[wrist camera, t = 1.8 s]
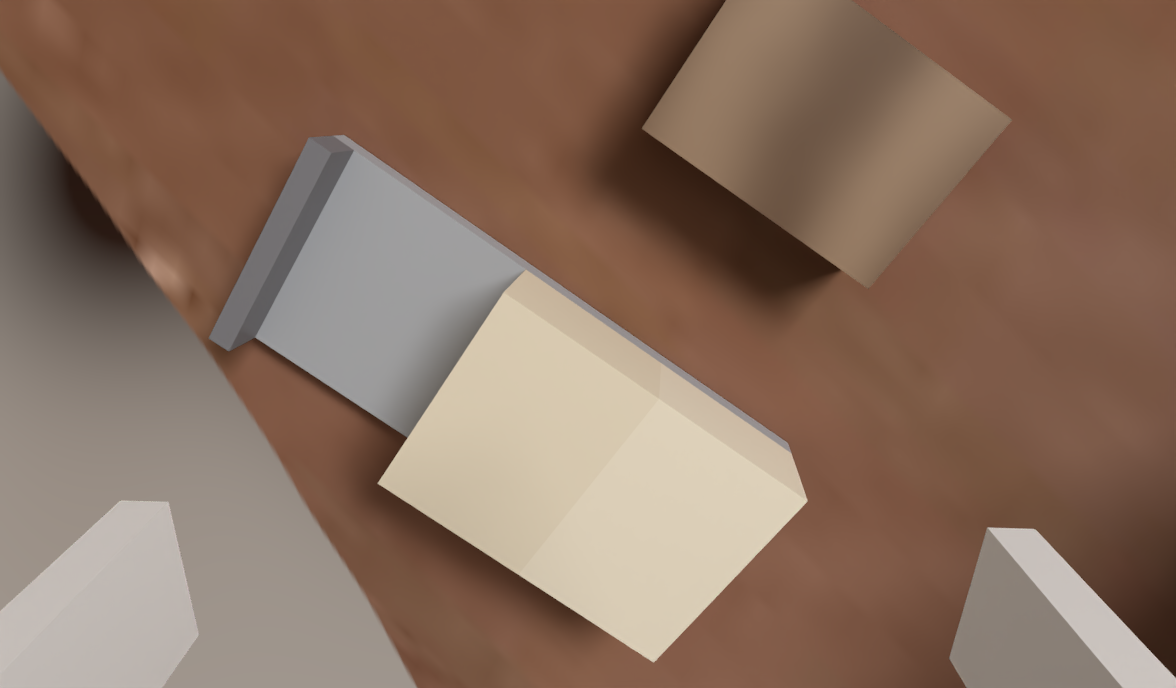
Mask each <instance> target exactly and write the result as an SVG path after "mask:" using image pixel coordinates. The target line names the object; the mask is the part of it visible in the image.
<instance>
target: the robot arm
mask: <svg viewBox="0 0 1176 688" xmlns="http://www.w3.org/2000/svg"><path fill="white" fill-rule="evenodd" d="M198 636H199V633H198V628H197V624H196V620H195V615H194V611H193V606H192V602H191V598H190V593H189V589H188V585H187V580H186V576H185V572H184V567H183V563H182V559H181V555H180V550H179V546H178V542H177V537H176V533H175V528H174V524H173V520H172V516H171V511H170V507H169V502H154V501H153V502H152V501H123V500H120V501H119V502H118V503H117V504H116V505H115V506H114V507H113V508H112V509H111V510H110V511H109V512H107V513H106V514H105V515H104V516H103V517H102V518H101V519H100V520H99V521H98V522H97V523H96V524H94V525H93V526H92V527H91V528H90V529H89V530H88V531H87V532H86V533H85V534H83V535H82V536H81V537H80V538H79V539H78V540H77V541H76V542H75V543H74V544H73V545H71V546H70V547H69V548H68V549H67V550H66V551H65V552H64V553H63V554H62V555H61V556H60V557H59V558H57V559H56V560H55V561H54V562H53V563H52V564H51V565H50V566H49V567H48V568H46V569H45V570H44V571H43V572H42V573H41V574H40V575H39V576H38V577H37V578H36V579H34V580H33V581H32V582H31V583H30V584H29V585H28V586H27V587H26V588H25V589H24V590H22V591H21V592H20V594H18V595H17V596H16V597H15V598H14V599H13V600H12V601H11V602H10V603H8V604H7V605H6V606H5V607H4V608H3V609H2V610H1V611H0V688H162V687H163V686H164V685H165V683H166V682H167V680H168V679H169V677H170V676H171V675H172V673H173V672H174V670H175V669H176V667H177V666H178V664H179V663H180V661H181V660H182V659H183V657H184V656H185V654H186V653H187V652H188V650H189V649H190V647H191V646H192V644H193V643H194V641H195V640H196V639H197V637H198ZM949 659H950V661H951V662H952V664H953V666H954V667H955V669H956V671H957V672H958V674H959V676H960V677H961V679H962V681H963V682H964V684H965V686H966V688H1176V678H1175V677H1174V676H1173V675H1172V674H1171V673H1170V672H1169V670H1168V669H1167V668H1166V667H1165V666H1164V665H1163V664H1162V663H1161V662H1160V661H1159V660H1158V659H1157V658H1156V657H1155V656H1154V655H1153V654H1152V652H1151V651H1150V650H1149V649H1148V648H1147V647H1146V646H1145V645H1144V644H1143V643H1142V642H1141V641H1140V640H1139V639H1138V638H1137V637H1136V636H1135V634H1134V633H1133V632H1132V631H1131V630H1130V629H1129V628H1128V627H1127V626H1126V625H1125V624H1124V623H1123V622H1122V621H1121V620H1120V619H1119V617H1118V616H1117V615H1116V614H1115V613H1114V612H1113V611H1112V610H1111V609H1110V608H1109V607H1108V606H1107V605H1106V604H1105V603H1104V602H1103V601H1102V599H1101V598H1100V597H1099V596H1098V595H1097V594H1096V593H1095V592H1094V591H1093V590H1092V589H1091V588H1090V587H1089V586H1088V585H1087V584H1086V583H1085V581H1084V580H1083V579H1082V578H1081V577H1080V576H1079V575H1078V574H1077V573H1076V572H1075V571H1074V570H1073V569H1072V568H1071V567H1070V566H1069V564H1068V563H1067V562H1066V561H1065V560H1064V559H1063V558H1062V557H1061V556H1060V555H1059V554H1058V553H1057V552H1056V551H1055V550H1054V549H1053V548H1052V546H1051V545H1050V544H1049V543H1048V542H1047V541H1046V540H1045V539H1044V538H1043V537H1042V536H1041V535H1040V534H1039V533H1038V532H1037V531H1036V530H1035V529H1016V528H987V531H986V534H985V537H984V541H983V544H982V548H981V551H980V555H979V558H978V561H977V565H976V568H975V572H974V575H973V578H972V582H971V585H970V589H969V592H968V596H967V599H966V602H965V606H964V609H963V613H962V616H961V619H960V623H959V626H958V630H957V633H956V637H955V640H954V643H953V647H952V650H951V654H950V657H949Z"/></svg>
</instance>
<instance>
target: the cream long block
mask: <svg viewBox="0 0 1176 688" xmlns="http://www.w3.org/2000/svg"><path fill="white" fill-rule="evenodd" d="M253 338H257V339H258V340H260V341H261V342H263V343H264V344H266V345H267V346H269V347H270V348H272V349H273V350H275V351H277V352H278V353H280V354H281V355H283V356H284V357H286V358H287V359H289V360H290V361H292V362H293V363H295V364H296V365H298V366H299V367H301V368H302V369H304V370H305V371H307V372H308V373H310V374H311V375H313V376H315V377H316V378H318V379H319V380H321V381H322V382H324V383H325V384H327V385H328V386H330V387H331V388H333V389H334V390H336V391H337V392H339V393H340V394H342V395H343V396H345V397H346V398H348V399H349V400H351V401H353V402H354V403H356V404H357V405H359V406H360V407H362V408H363V409H365V410H366V411H368V412H369V413H371V414H372V415H374V416H375V417H377V418H378V419H380V420H381V421H383V422H384V423H386V424H388V425H389V426H391V427H392V428H394V429H395V430H397V431H398V432H400V433H401V434H403V435H404V436H406V437H407V440H406V441H405V443H404V444H403V446H402V447H401V449H400V450H399V452H398V453H397V455H396V456H395V458H394V459H393V461H392V462H391V464H390V465H389V467H388V468H387V470H386V471H385V473H384V474H383V476H382V477H381V479H380V481H379V482H378V484H379V485H381V486H382V487H384V488H385V489H387V490H388V491H390V492H392V493H393V494H395V495H396V496H398V497H399V498H401V499H402V500H404V501H405V502H407V503H408V504H410V505H412V506H413V507H415V508H416V509H418V510H419V511H421V512H422V513H424V514H425V515H427V516H429V517H430V518H432V519H433V520H435V521H436V522H438V523H439V524H441V525H442V526H444V527H445V528H447V529H449V530H450V531H452V532H453V533H455V534H456V535H458V536H459V537H461V538H462V539H464V540H466V541H467V542H469V543H470V544H472V545H473V546H475V547H476V548H478V549H479V550H481V551H483V552H484V553H486V554H487V555H489V556H490V557H492V558H493V559H495V560H496V561H498V562H499V563H501V564H503V565H504V566H506V567H507V568H509V569H510V570H512V571H513V572H515V573H516V574H518V575H520V576H521V577H523V578H524V579H526V580H527V581H529V582H530V583H532V584H533V585H535V586H536V587H538V588H540V589H541V590H543V591H544V592H546V593H547V594H549V595H550V596H552V597H553V598H555V599H557V600H558V601H560V602H561V603H563V604H564V605H566V606H567V607H569V608H570V609H572V610H573V611H575V612H577V613H578V614H580V615H581V616H583V617H584V618H586V619H587V620H589V621H590V622H592V623H594V624H595V625H597V626H598V627H600V628H601V629H603V630H604V631H606V632H607V633H609V634H611V635H612V636H614V637H615V638H617V639H618V640H620V641H621V642H623V643H624V644H626V645H627V646H629V647H631V648H632V649H634V650H635V651H637V652H638V653H640V654H641V655H643V656H644V657H646V658H648V659H649V660H651V661H652V662H655V661H656V660H657V659H658V658H659V656H660V655H661V654H662V653H663V652H664V651H665V650H666V649H667V648H668V647H669V646H670V645H671V644H672V643H673V642H674V641H675V640H676V639H677V638H678V637H679V636H680V634H681V633H682V632H683V631H684V630H685V629H686V628H687V627H688V626H689V625H690V624H691V623H692V622H693V621H694V620H695V619H696V618H697V617H698V616H699V615H700V613H701V612H702V611H703V610H704V609H705V608H706V607H707V606H708V605H709V604H710V603H711V602H712V601H713V600H714V599H715V598H716V597H717V596H718V595H719V594H720V593H721V591H722V590H723V589H724V588H725V587H726V586H727V585H728V584H729V583H730V582H731V581H732V580H733V579H734V578H735V577H736V576H737V575H738V574H739V573H740V572H741V571H742V569H743V568H744V567H745V566H746V565H747V564H748V563H749V562H750V561H751V560H752V559H753V558H754V557H755V556H756V555H757V554H758V553H759V552H760V551H761V550H762V548H763V547H764V546H765V545H766V544H767V543H768V542H769V541H770V540H771V539H772V538H773V537H774V536H775V535H776V534H777V533H778V532H779V531H780V530H781V529H782V528H783V526H784V525H785V524H786V523H787V522H788V521H789V520H790V519H791V518H792V517H793V516H794V515H795V514H796V513H797V512H798V511H799V510H800V509H801V508H802V507H803V505H804V504H805V503H806V502H807V498H806V495H805V492H804V489H803V486H802V483H801V480H800V477H799V474H798V471H797V469H796V466H795V463H794V460H793V457H792V454H791V451H790V448H789V445H788V443H787V442H786V441H784V440H783V439H781V438H780V437H778V436H777V435H775V434H774V433H773V432H771V431H770V430H768V429H767V428H765V427H764V426H762V425H761V424H760V423H758V422H757V421H755V420H754V419H752V418H751V417H749V416H748V415H747V414H745V413H744V412H742V411H741V410H739V409H738V408H737V407H735V406H734V405H732V404H731V403H729V402H728V401H726V400H725V399H724V398H722V397H721V396H719V395H718V394H716V393H715V392H713V391H712V390H711V389H709V388H708V387H706V386H705V385H703V384H702V383H701V382H699V381H698V380H696V379H695V378H693V377H692V376H690V375H689V374H688V373H686V372H685V371H683V370H682V369H680V368H679V367H677V366H676V365H675V364H673V363H672V362H670V361H669V360H667V359H666V358H665V357H663V356H662V355H660V354H659V353H657V352H656V351H654V350H653V349H652V348H650V347H649V346H647V345H646V344H644V343H643V342H641V341H640V340H639V339H637V338H636V337H634V336H633V335H631V334H630V333H628V332H627V331H626V330H624V329H623V328H621V327H620V326H618V325H617V324H616V323H614V322H613V321H611V320H610V319H608V318H607V317H605V316H604V315H603V314H601V313H600V312H598V311H597V310H595V309H594V308H592V307H591V306H590V305H588V304H587V303H585V302H584V301H582V300H581V299H580V298H578V297H577V296H575V295H574V294H572V293H571V292H569V291H568V290H567V289H565V288H564V287H562V286H561V285H559V284H558V283H556V282H555V281H554V280H552V279H551V278H549V277H548V276H546V275H545V274H544V273H542V272H541V271H539V270H538V269H536V268H535V267H533V266H532V265H531V264H529V263H528V262H526V261H525V260H523V259H522V258H520V257H519V256H518V255H516V254H515V253H513V252H512V251H510V250H509V249H507V248H506V247H505V246H503V245H502V244H500V243H499V242H497V241H496V240H495V239H493V238H492V237H490V236H489V235H487V234H486V233H484V232H483V231H482V230H480V229H479V228H477V227H476V226H474V225H473V224H471V223H470V222H469V221H467V220H466V219H464V218H463V217H461V216H460V215H459V214H457V213H456V212H454V211H453V210H451V209H450V208H448V207H447V206H446V205H444V204H443V203H441V202H440V201H438V200H437V199H435V198H434V197H433V196H431V195H430V194H428V193H427V192H425V191H424V190H422V189H421V188H420V187H418V186H417V185H415V184H414V183H412V182H411V181H410V180H408V179H407V178H405V177H404V176H402V175H401V174H399V173H398V172H397V171H395V170H394V169H392V168H391V167H389V166H388V165H386V164H385V163H384V162H382V161H381V160H379V159H378V158H376V157H375V156H374V155H372V154H371V153H369V152H368V151H366V150H365V149H363V148H362V147H361V146H359V145H358V144H356V143H355V142H353V141H352V140H350V139H349V138H348V137H346V136H345V135H340V136H324V137H309V139H308V141H307V143H306V145H305V147H304V149H303V151H302V153H301V155H300V157H299V159H298V161H297V163H296V165H295V167H294V169H293V171H292V173H291V175H290V177H289V179H288V181H287V183H286V185H285V187H284V189H283V191H282V193H281V195H280V197H279V199H278V201H277V203H276V205H275V207H274V209H273V211H272V213H271V215H270V217H269V219H268V221H267V223H266V225H265V227H264V229H263V231H262V233H261V235H260V237H259V239H258V241H257V243H256V245H255V247H254V249H253V251H252V253H251V255H250V257H249V259H248V261H247V263H246V265H245V267H244V269H243V271H242V273H241V275H240V277H239V279H238V281H237V283H236V285H235V287H234V289H233V291H232V293H231V295H230V297H229V298H228V300H227V302H226V304H225V306H224V308H223V310H222V312H221V314H220V316H219V318H218V320H217V322H216V324H215V326H214V328H213V330H212V332H211V334H210V336H209V339H210V340H212V341H213V342H215V343H216V344H218V345H219V346H221V347H223V348H224V349H226V350H227V351H231V350H233V349H234V348H236V347H238V346H240V345H242V344H244V343H246V342H248V341H250V340H251V339H253Z"/></svg>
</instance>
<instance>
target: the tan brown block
mask: <svg viewBox="0 0 1176 688" xmlns="http://www.w3.org/2000/svg"><path fill="white" fill-rule="evenodd" d="M1011 121H1012V119H1010V118H1009V117H1008V116H1006V115H1005V114H1004V113H1002V112H1001V111H1000V110H998V109H997V108H996V107H994V106H993V105H992V104H990V103H989V102H988V101H986V100H985V99H983V98H982V97H981V96H979V95H978V94H977V93H975V92H974V91H973V90H971V89H970V88H969V87H967V86H966V85H965V84H963V83H962V82H961V81H959V80H958V79H957V78H955V77H954V76H953V75H951V74H950V73H949V72H947V71H946V70H945V69H943V68H942V67H941V66H939V65H938V64H937V63H935V62H934V61H932V60H931V59H930V58H928V57H927V56H926V55H924V54H923V53H922V52H920V51H919V50H918V49H916V48H915V47H914V46H912V45H911V44H910V43H908V42H907V41H906V40H904V39H903V38H902V37H900V36H899V35H898V34H896V33H895V32H894V31H892V30H891V29H890V28H888V27H887V26H886V25H884V24H883V23H882V22H880V21H879V20H877V19H876V18H875V17H873V16H872V15H871V14H869V13H868V12H867V11H865V10H864V9H863V8H861V7H860V6H859V5H857V4H856V3H855V2H853V1H852V0H726V1H725V3H724V4H723V6H722V7H721V9H720V10H719V12H718V13H717V15H716V16H715V18H714V19H713V21H712V22H711V24H710V25H709V27H708V28H707V30H706V31H705V33H704V35H703V36H702V38H701V39H700V41H699V42H698V44H697V45H696V47H695V48H694V50H693V51H692V53H691V54H690V56H689V57H688V59H687V60H686V62H685V63H684V65H683V66H682V68H681V69H680V71H679V72H678V74H677V75H676V77H675V79H674V80H673V82H672V83H671V85H670V86H669V88H668V89H667V91H666V92H665V94H664V95H663V97H662V98H661V100H660V101H659V103H658V104H657V106H656V107H655V109H654V110H653V112H652V113H651V115H650V116H649V118H648V119H647V121H646V123H645V124H644V126H643V127H642V129H643V130H644V131H646V132H647V133H648V134H650V135H651V136H653V137H654V138H655V139H657V140H658V141H660V142H661V143H663V144H664V145H665V146H667V147H668V148H670V149H671V150H672V151H674V152H675V153H677V154H678V155H680V156H681V157H682V158H684V159H685V160H687V161H688V162H689V163H691V164H692V165H694V166H695V167H696V168H698V169H699V170H701V171H702V172H704V173H705V174H706V175H708V176H709V177H711V178H712V179H713V180H715V181H716V182H718V183H719V184H721V185H722V186H723V187H725V188H726V189H728V190H729V191H730V192H732V193H733V194H735V195H736V196H738V197H739V198H740V199H742V200H743V201H745V202H746V203H747V204H749V205H750V206H752V207H753V208H754V209H756V210H757V211H759V212H760V213H762V214H763V215H764V216H766V217H767V218H769V219H770V220H771V221H773V222H774V223H776V224H777V225H779V226H780V227H781V228H783V229H784V230H786V231H787V232H788V233H790V234H791V235H793V236H794V237H796V238H797V239H798V240H800V241H801V242H803V243H804V244H805V245H807V246H808V247H810V248H811V249H812V250H814V251H815V252H817V253H818V254H820V255H821V256H822V257H824V258H825V259H827V260H828V261H829V262H831V263H832V264H834V265H835V266H837V267H838V268H839V269H841V270H842V271H844V272H845V273H846V274H848V275H849V276H851V277H852V278H854V279H855V280H856V281H858V282H859V283H861V284H862V285H863V286H865V287H866V288H868V289H869V287H870V286H871V285H872V284H873V283H874V282H875V280H876V279H877V278H878V277H879V276H880V275H881V273H882V272H883V271H884V270H885V269H886V267H887V266H888V265H889V264H890V263H891V262H892V260H893V259H894V258H895V257H896V256H897V255H898V253H899V252H900V251H901V250H902V249H903V248H904V246H905V245H906V244H907V243H908V242H909V240H910V239H911V238H912V237H913V236H914V235H915V233H916V232H917V231H918V230H919V229H920V228H921V226H922V225H923V224H924V223H925V222H926V220H927V219H928V218H929V217H930V216H931V215H932V213H933V212H934V211H935V210H936V209H937V208H938V206H939V205H940V204H941V203H942V202H943V201H944V199H945V198H946V197H947V196H948V195H949V193H950V192H951V191H952V190H953V189H954V188H955V186H956V185H957V184H958V183H959V182H960V181H961V179H962V178H963V177H964V176H965V175H966V173H967V172H968V171H969V170H970V169H971V168H972V166H973V165H974V164H975V163H976V162H977V161H978V159H979V158H980V157H981V156H982V155H983V154H984V152H985V151H986V150H987V149H988V148H989V146H990V145H991V144H992V143H993V142H994V141H995V139H996V138H997V137H998V136H999V135H1000V134H1001V132H1002V131H1003V130H1004V129H1005V128H1006V126H1007V125H1008V124H1009V123H1010V122H1011Z"/></svg>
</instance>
